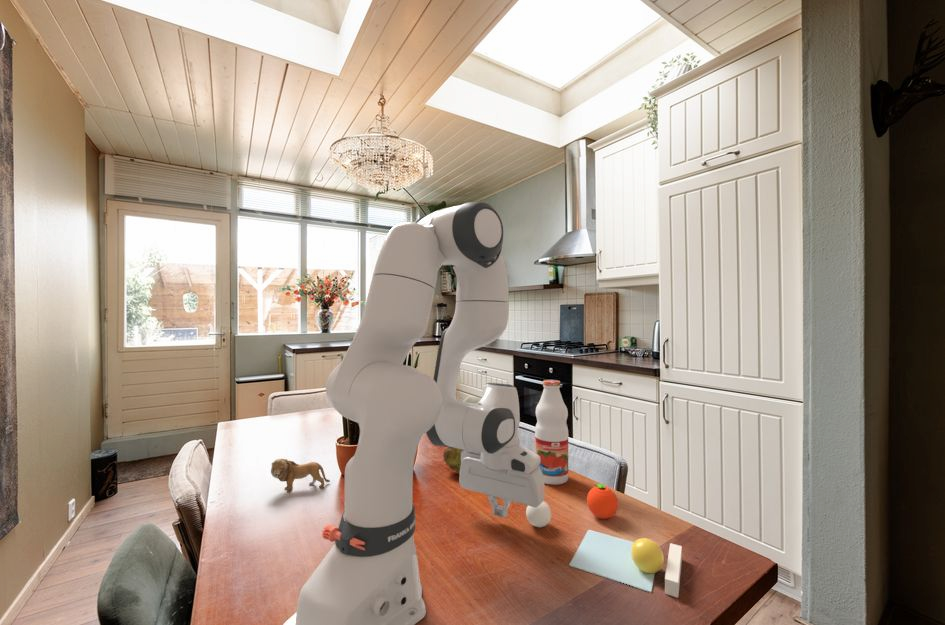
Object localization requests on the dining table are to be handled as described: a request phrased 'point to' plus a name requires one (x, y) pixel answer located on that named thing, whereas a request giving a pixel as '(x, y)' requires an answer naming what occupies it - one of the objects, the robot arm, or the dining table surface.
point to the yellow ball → (647, 555)
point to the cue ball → (539, 515)
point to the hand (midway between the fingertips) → (500, 515)
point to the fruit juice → (552, 434)
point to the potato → (453, 458)
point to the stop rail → (673, 570)
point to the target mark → (611, 560)
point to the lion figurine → (296, 472)
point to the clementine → (602, 501)
